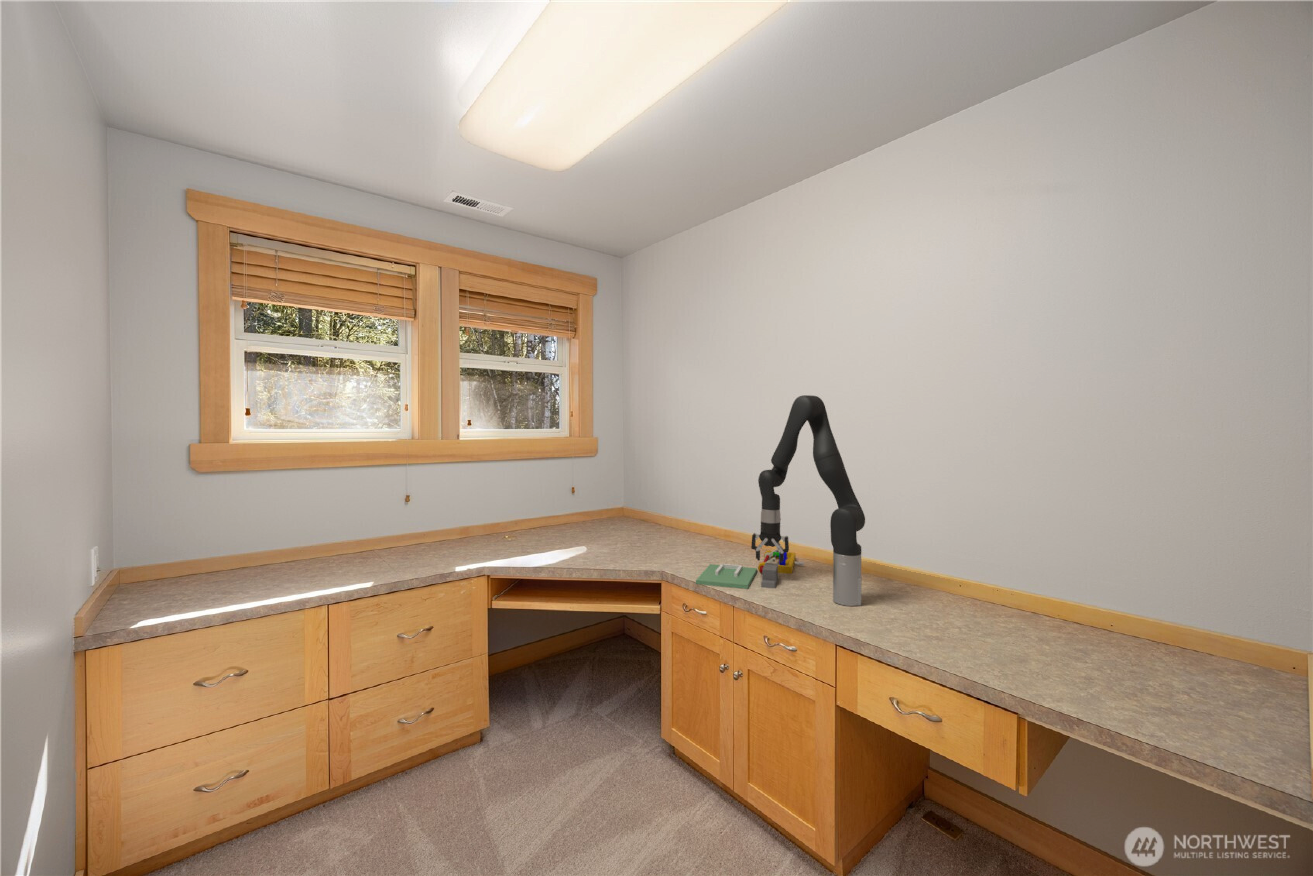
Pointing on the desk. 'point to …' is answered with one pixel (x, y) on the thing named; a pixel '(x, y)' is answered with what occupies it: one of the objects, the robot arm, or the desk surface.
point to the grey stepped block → (769, 575)
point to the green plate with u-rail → (727, 576)
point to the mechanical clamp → (782, 567)
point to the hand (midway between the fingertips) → (769, 561)
